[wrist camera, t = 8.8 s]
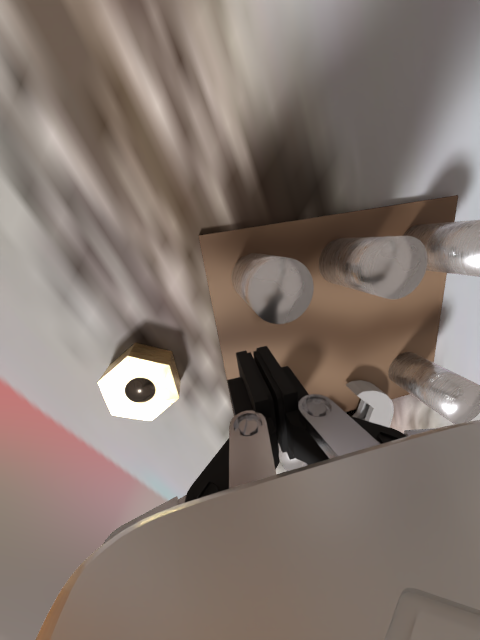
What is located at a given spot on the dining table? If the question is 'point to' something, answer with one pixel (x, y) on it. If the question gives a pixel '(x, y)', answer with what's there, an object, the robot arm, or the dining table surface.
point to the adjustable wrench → (372, 403)
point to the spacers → (381, 280)
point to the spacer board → (329, 303)
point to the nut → (141, 382)
